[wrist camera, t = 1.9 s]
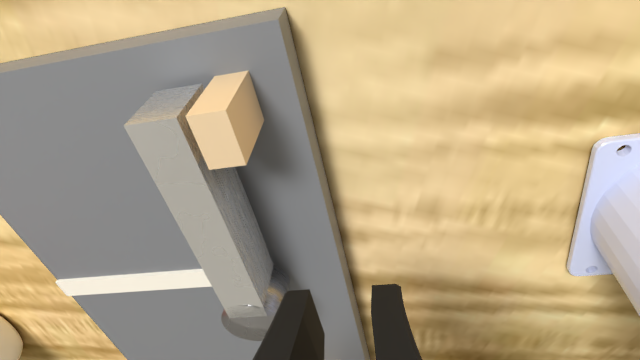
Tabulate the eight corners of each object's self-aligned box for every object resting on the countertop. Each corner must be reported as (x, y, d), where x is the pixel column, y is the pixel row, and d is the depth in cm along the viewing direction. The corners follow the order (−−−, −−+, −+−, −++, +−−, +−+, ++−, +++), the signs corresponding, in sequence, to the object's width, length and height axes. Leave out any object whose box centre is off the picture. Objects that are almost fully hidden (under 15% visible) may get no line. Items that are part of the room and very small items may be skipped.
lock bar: (295, 295, 21) (288, 340, 19) (244, 298, 22) (232, 342, 20) (215, 81, 14) (191, 115, 12) (143, 93, 15) (109, 127, 13)
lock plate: (285, 7, 14) (259, 52, 11) (371, 366, 28) (373, 437, 25) (-74, 78, 18) (-187, 131, 14) (162, 371, 31) (137, 435, 28)
